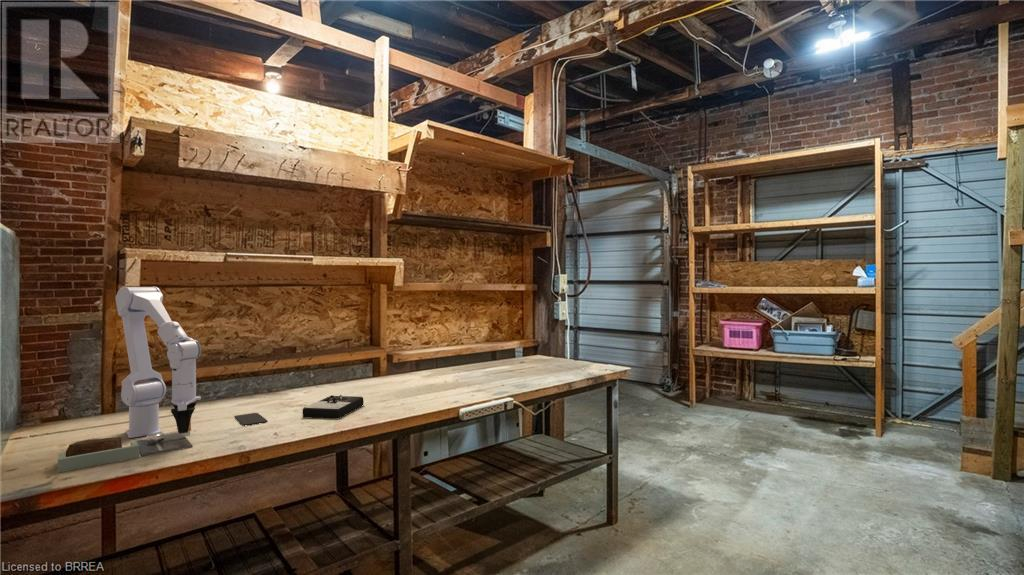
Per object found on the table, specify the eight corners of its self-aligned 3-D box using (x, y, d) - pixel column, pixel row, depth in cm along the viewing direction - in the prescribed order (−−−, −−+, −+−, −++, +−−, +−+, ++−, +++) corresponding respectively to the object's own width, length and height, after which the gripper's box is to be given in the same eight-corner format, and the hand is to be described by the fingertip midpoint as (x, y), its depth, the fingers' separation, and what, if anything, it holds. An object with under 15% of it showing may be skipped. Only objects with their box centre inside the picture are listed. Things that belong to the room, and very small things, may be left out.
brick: (122, 453, 133) (122, 435, 133) (116, 458, 129) (116, 440, 129) (72, 458, 129) (72, 440, 129) (65, 463, 125) (64, 445, 125)
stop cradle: (57, 466, 123) (57, 453, 123) (136, 451, 133) (136, 440, 133) (57, 472, 119) (57, 459, 119) (139, 457, 129) (139, 445, 129)
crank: (147, 443, 137) (147, 424, 137) (146, 440, 140) (145, 421, 140) (192, 436, 144) (192, 417, 144) (189, 433, 147) (189, 414, 147)
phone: (257, 412, 174) (268, 420, 162) (257, 414, 174) (268, 423, 162) (233, 415, 169) (243, 424, 157) (233, 418, 169) (243, 427, 157)
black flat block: (364, 406, 185) (364, 393, 185) (338, 420, 166) (338, 405, 166) (330, 405, 187) (330, 391, 187) (301, 418, 168) (301, 404, 168)
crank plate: (135, 443, 141) (135, 440, 141) (181, 435, 148) (181, 432, 148) (142, 456, 130) (142, 453, 130) (192, 447, 137) (192, 444, 137)
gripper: (199, 386, 139) (199, 434, 139) (201, 377, 151) (201, 422, 152) (168, 388, 135) (168, 438, 135) (173, 379, 148) (173, 425, 148)
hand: (184, 430), depth 143 cm, fingers open, 5 cm apart
